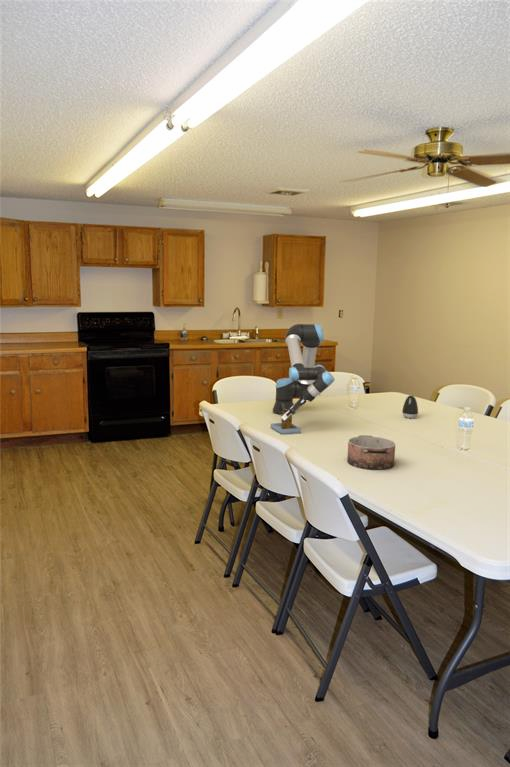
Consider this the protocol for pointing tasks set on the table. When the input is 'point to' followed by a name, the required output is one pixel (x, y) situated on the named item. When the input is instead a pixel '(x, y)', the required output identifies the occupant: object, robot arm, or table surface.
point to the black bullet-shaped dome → (410, 407)
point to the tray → (285, 431)
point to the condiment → (286, 421)
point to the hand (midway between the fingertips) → (284, 416)
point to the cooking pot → (371, 453)
